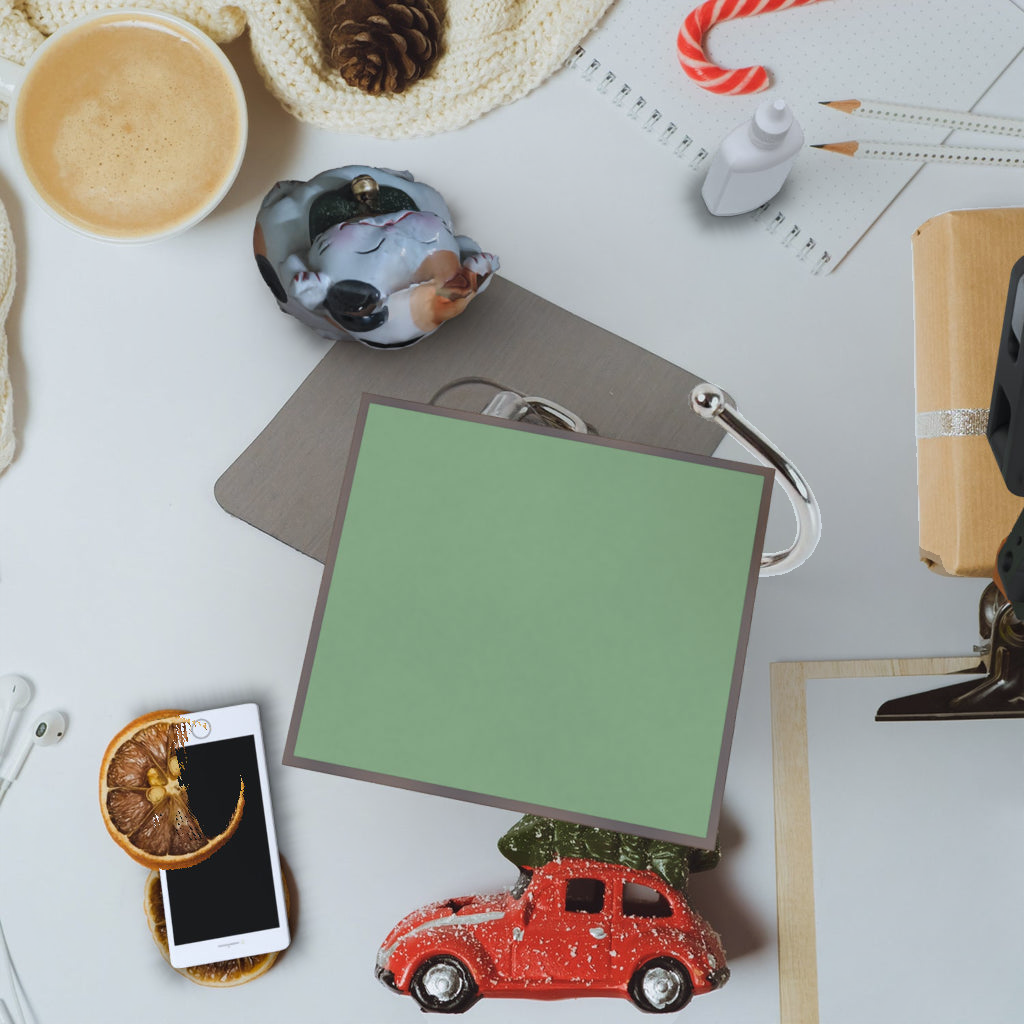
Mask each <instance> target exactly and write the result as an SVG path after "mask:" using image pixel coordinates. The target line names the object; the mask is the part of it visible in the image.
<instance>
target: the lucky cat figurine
mask: <svg viewBox="0 0 1024 1024" xmlns="http://www.w3.org/2000/svg"><path fill="white" fill-rule="evenodd" d="M252 247H253V256H254V260H255V262H256V265H257V267H258V271H259V273H260V275H261V277H262V279H263V281H264V283H265V284H266V285H267V286H268V287H267V288H269V290H270V292H271V293H272V295H273V296H274V298H275V301H276V304H277V306H278V307H279V310H280V311H281V312H283V313H284V314H287V315H290V316H292V317H294V318H295V319H297V320H298V321H299V322H301V323H302V324H304V325H306V326H308V327H309V328H311V329H312V330H313V331H314V332H315V333H316V334H317V335H319V336H320V337H321V339H325V340H329V341H336V342H337V341H340V342H342V341H347V342H348V341H349V342H350V341H356V342H359V343H361V344H362V345H364V346H366V347H368V348H372V349H375V350H387V351H396V350H402V349H404V348H409V347H412V346H415V345H416V344H417V343H419V342H420V341H422V340H423V339H425V338H427V337H429V336H431V335H433V334H434V333H435V332H436V331H438V329H439V328H440V327H441V326H442V325H443V324H444V323H445V322H447V321H448V320H451V319H453V318H456V317H457V316H458V315H461V314H462V313H463V312H464V311H465V310H466V309H467V306H468V305H469V303H470V302H471V301H472V300H473V299H474V298H475V297H477V295H478V294H481V293H482V292H485V290H486V289H487V288H488V286H489V285H490V283H491V280H492V277H493V276H494V274H495V273H496V272H497V271H498V270H499V269H500V268H501V264H500V261H499V260H500V256H498V255H497V254H496V255H493V254H492V253H489V252H483V250H482V248H481V246H480V244H479V243H478V242H477V241H476V240H474V239H473V238H472V237H471V236H467V235H462V234H459V235H456V233H455V228H454V222H453V220H452V216H451V213H450V211H449V208H448V205H447V204H446V200H445V199H444V197H443V195H442V194H441V193H440V192H439V191H438V190H436V189H435V188H434V187H432V186H431V185H429V184H426V183H423V182H421V181H415V176H414V175H413V173H412V172H410V171H409V169H406V170H405V169H404V170H396V169H392V168H389V167H377V166H374V167H373V166H370V165H363V164H348V165H343V166H341V167H335V168H330V169H327V170H323V171H321V172H320V173H318V174H316V175H314V176H313V177H312V178H310V179H308V180H307V181H305V180H304V181H303V180H297V179H291V180H290V179H286V180H280V181H279V180H278V181H276V182H275V184H273V186H272V188H271V189H270V190H269V191H268V192H267V194H265V196H264V197H263V199H262V202H261V204H260V208H259V210H258V212H257V213H256V218H255V222H254V228H253V232H252Z"/></svg>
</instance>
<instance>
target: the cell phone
mask: <svg viewBox="0 0 1024 1024" xmlns="http://www.w3.org/2000/svg"><path fill="white" fill-rule="evenodd" d="M260 712H261V711H260V706H259V705H258V704H257V703H254V702H249V703H247V702H246V703H242V704H236V705H232V706H231V705H230V706H225V707H219V708H213V709H208V710H202V711H197V712H196V711H195V712H190V713H185V714H180V715H179V716H180V718H182V717H183V718H185V720H186V719H187V720H188V719H190V725H191V727H190V725H189V724H188V723H187V722H186V723H185V725H186V731H187V737H188V742H187V741H186V739H185V738H184V736H183V735H182V737H183V738H184V740H185V742H184V740H183V742H184V747H185V749H184V748H183V746H182V745H181V743H180V742H179V740H178V742H179V747H180V749H179V748H178V750H179V751H178V750H177V749H176V747H175V751H176V756H177V760H178V764H179V763H180V764H181V765H184V768H185V770H184V769H183V768H182V766H181V765H180V764H179V768H180V767H181V769H180V772H181V775H180V776H181V779H182V780H181V779H180V777H179V776H178V778H177V779H178V782H179V786H180V787H181V786H183V784H184V786H185V787H186V788H187V790H186V792H187V795H188V800H189V801H188V800H187V801H188V803H189V804H188V803H187V804H188V806H189V807H190V808H189V807H188V806H187V805H186V806H187V807H188V809H189V810H190V809H191V810H192V811H191V810H190V812H191V813H192V814H193V815H194V816H195V817H196V818H195V817H194V816H193V815H192V814H191V813H190V812H189V810H188V812H189V814H190V815H191V816H193V817H194V818H195V819H197V821H198V823H199V826H200V828H201V830H202V832H203V834H204V836H206V837H208V836H210V838H212V837H214V836H218V835H219V834H221V833H222V832H223V831H225V830H226V828H227V827H228V826H229V821H231V817H232V813H233V814H234V812H235V807H236V808H237V803H238V800H239V798H240V797H239V796H240V791H242V790H241V782H242V781H243V783H244V786H245V787H244V789H243V790H244V792H243V794H244V795H243V794H242V795H243V797H244V800H245V805H244V807H243V815H242V817H241V819H242V820H241V821H240V822H239V824H238V825H239V826H238V828H237V829H236V831H235V833H234V834H233V835H232V837H231V838H230V839H228V840H229V841H227V842H226V843H225V845H223V846H221V848H220V849H218V850H217V852H215V853H213V854H212V855H211V856H210V858H207V859H206V860H204V861H201V863H198V864H197V865H193V866H192V867H189V868H188V867H187V868H182V869H181V868H180V869H174V870H171V869H169V870H166V869H165V870H162V869H160V868H159V874H160V875H159V876H160V885H161V890H162V901H163V908H164V917H165V926H166V932H167V943H168V949H169V958H170V965H171V966H172V967H173V968H175V969H185V968H189V967H190V968H191V967H195V966H203V965H208V964H212V963H217V962H224V961H229V960H235V959H241V958H246V957H247V958H248V957H252V956H257V955H264V954H270V953H274V952H279V951H283V950H286V949H287V948H289V946H290V944H291V942H292V939H291V933H290V926H289V919H288V911H287V905H286V897H285V890H284V883H283V875H282V869H281V868H282V867H281V861H280V860H281V859H280V853H279V846H278V838H277V831H276V824H275V823H276V822H275V816H274V810H273V802H272V794H271V788H270V780H269V772H268V766H267V757H266V751H265V743H264V735H263V728H262V720H261V714H260ZM183 718H182V719H183ZM194 720H195V725H196V727H195V725H194V724H193V722H192V721H194ZM197 721H198V722H200V724H201V726H200V725H199V723H198V722H197ZM204 723H206V729H207V730H206V729H205V728H204V727H203V725H205V724H204ZM182 726H184V724H183V723H181V731H182V734H184V732H183V731H184V728H183V727H182ZM209 726H210V727H209ZM176 727H177V725H176ZM177 728H178V727H177ZM210 728H211V729H210ZM178 729H179V728H178ZM189 729H190V730H191V731H192V732H191V731H190V730H189ZM176 730H177V729H176ZM189 733H190V734H189ZM177 734H179V733H178V731H177ZM177 736H178V735H177ZM178 739H179V736H178ZM173 741H174V740H173ZM174 743H175V742H174ZM175 744H176V743H175ZM170 748H171V747H170ZM184 750H185V752H186V754H185V753H184ZM171 754H172V752H171ZM185 757H187V759H186V758H185ZM186 761H187V763H186ZM181 762H183V764H182V763H181ZM240 775H241V776H240ZM241 778H242V781H241ZM188 784H189V785H188ZM187 786H188V787H187ZM181 788H182V787H181ZM186 788H185V789H186ZM188 788H189V789H188ZM182 795H183V794H182ZM178 812H179V811H178ZM179 814H180V812H179ZM155 815H156V814H155ZM160 816H162V815H161V814H160ZM176 816H177V815H176ZM191 816H190V817H191ZM152 817H153V816H152ZM180 817H181V816H180ZM185 817H186V816H185ZM156 818H157V820H158V818H159V817H158V816H157V815H156ZM186 818H187V817H186ZM191 818H192V817H191ZM154 819H155V818H154V817H153V825H155V824H154V822H155V821H154ZM181 819H182V817H181ZM192 819H193V818H192ZM229 819H230V820H229ZM162 820H163V819H162ZM176 820H178V819H177V818H176ZM193 820H194V819H193ZM158 822H159V820H158ZM182 822H183V821H182ZM187 822H188V821H187ZM192 822H193V821H192ZM159 825H160V824H159ZM178 825H180V824H179V823H178ZM203 825H204V826H203ZM226 825H227V826H226ZM155 826H156V825H155ZM155 826H154V827H155ZM189 827H190V826H189ZM195 828H196V827H195ZM175 829H176V828H175ZM180 829H181V828H180ZM190 829H191V830H193V829H192V828H191V827H190ZM196 830H198V829H197V828H196ZM176 831H178V830H177V829H176ZM198 831H199V830H198ZM192 833H193V832H192ZM197 833H198V832H197ZM200 833H201V832H200ZM177 834H178V833H177ZM182 834H183V833H182ZM187 834H188V833H187ZM178 835H179V834H178ZM188 835H189V834H188ZM193 835H194V836H196V835H195V834H194V833H193ZM198 835H199V837H200V839H202V838H201V835H200V834H199V833H198ZM207 835H208V836H207ZM206 837H205V838H206ZM189 838H190V837H189ZM194 838H195V837H194ZM179 839H180V838H179ZM190 840H192V839H191V838H190ZM195 840H197V839H196V838H195Z"/></svg>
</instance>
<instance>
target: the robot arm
mask: <svg viewBox="0 0 1024 1024" xmlns="http://www.w3.org/2000/svg"><path fill="white" fill-rule="evenodd" d="M1006 294H1007V295H1006V301H1005V307H1004V314H1003V320H1002V327H1001V332H1000V333H1001V334H1000V339H999V346H998V352H997V359H996V365H995V372H994V377H993V378H994V379H993V385H992V391H991V398H990V405H989V410H988V416H987V417H988V418H987V424H986V431H985V436H986V439H987V442H988V444H989V447H990V449H991V452H992V455H993V457H994V460H995V462H996V464H997V467H998V469H999V471H1000V474H1001V477H1002V479H1003V481H1004V484H1005V487H1006V489H1007V491H1009V492H1010V493H1011V494H1012V495H1014V496H1015V497H1019V498H1024V255H1022V256H1020V257H1019V258H1018V259H1017V260H1016V262H1015V263H1014V264H1013V266H1012V267H1011V270H1010V275H1009V282H1008V288H1007V293H1006ZM1007 536H1008V537H1007ZM1007 536H1006V537H1007V539H1006V542H1005V543H1004V545H1003V546H1002V548H1001V550H1000V552H999V554H998V556H997V571H998V573H999V576H1000V579H1001V582H1002V585H1003V588H1004V591H1005V593H1006V596H1007V599H1008V600H1010V602H1011V604H1010V606H1011V607H1012V610H1013V613H1014V616H1015V618H1016V619H1017V620H1018V621H1022V622H1024V507H1022V510H1021V512H1020V513H1019V515H1018V517H1017V519H1016V521H1015V522H1014V524H1013V526H1012V528H1011V531H1010V532H1009V534H1008V535H1007Z"/></svg>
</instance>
